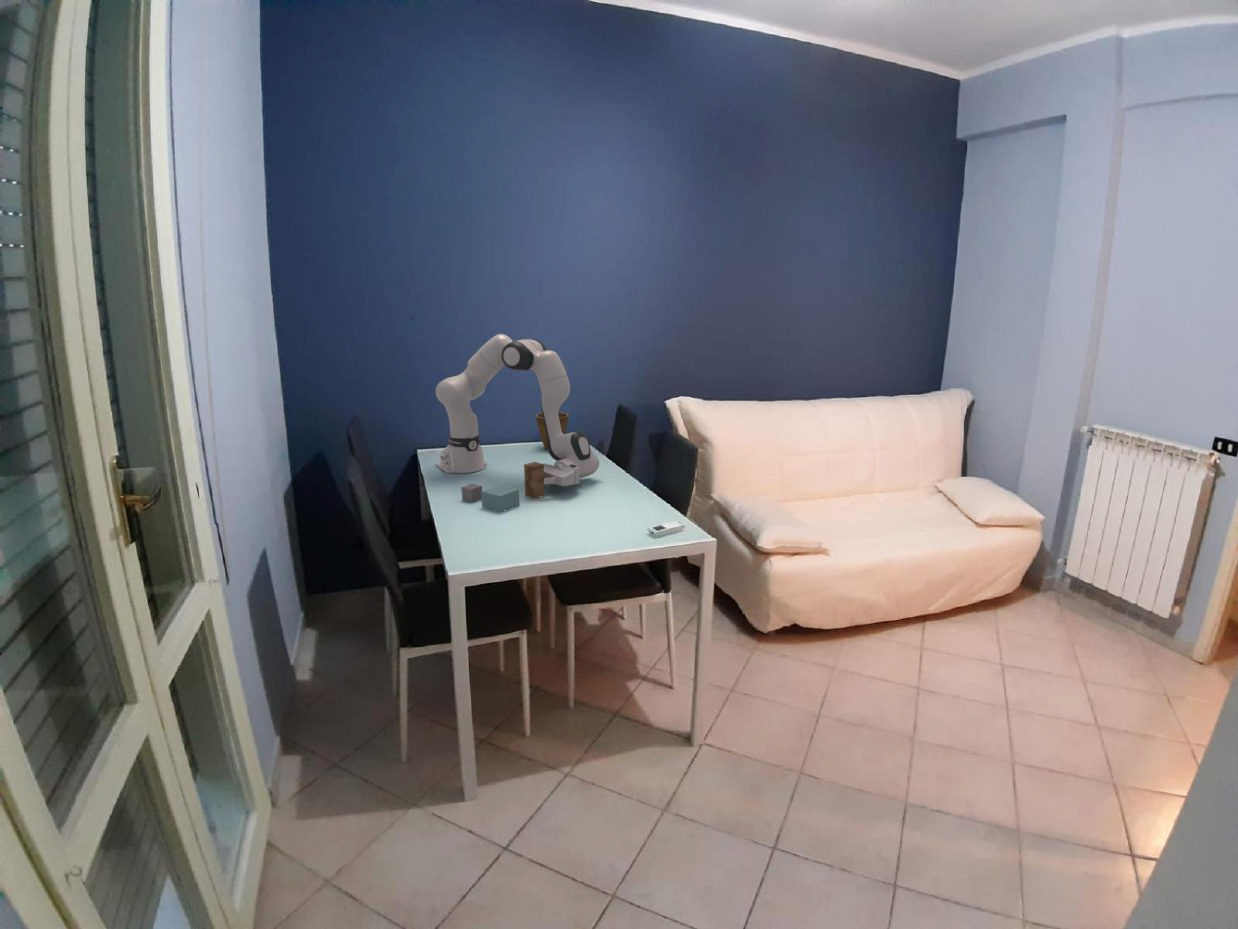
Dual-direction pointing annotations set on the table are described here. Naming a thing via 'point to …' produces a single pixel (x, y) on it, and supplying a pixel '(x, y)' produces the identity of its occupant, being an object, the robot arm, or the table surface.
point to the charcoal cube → (471, 493)
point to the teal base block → (500, 498)
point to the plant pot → (542, 430)
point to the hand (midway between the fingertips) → (534, 478)
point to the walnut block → (534, 480)
